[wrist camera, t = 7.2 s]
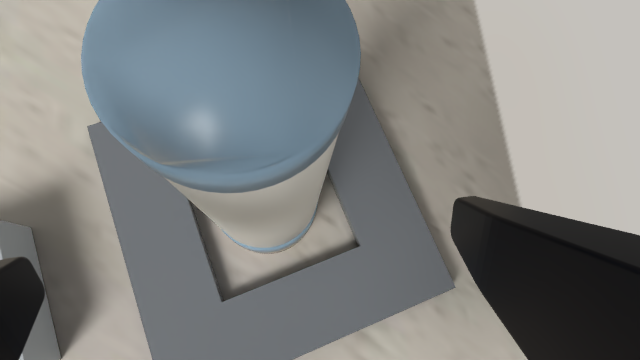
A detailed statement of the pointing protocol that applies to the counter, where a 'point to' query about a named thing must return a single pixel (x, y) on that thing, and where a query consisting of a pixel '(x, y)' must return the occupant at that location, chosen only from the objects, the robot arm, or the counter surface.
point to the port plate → (285, 293)
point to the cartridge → (228, 102)
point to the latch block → (18, 241)
